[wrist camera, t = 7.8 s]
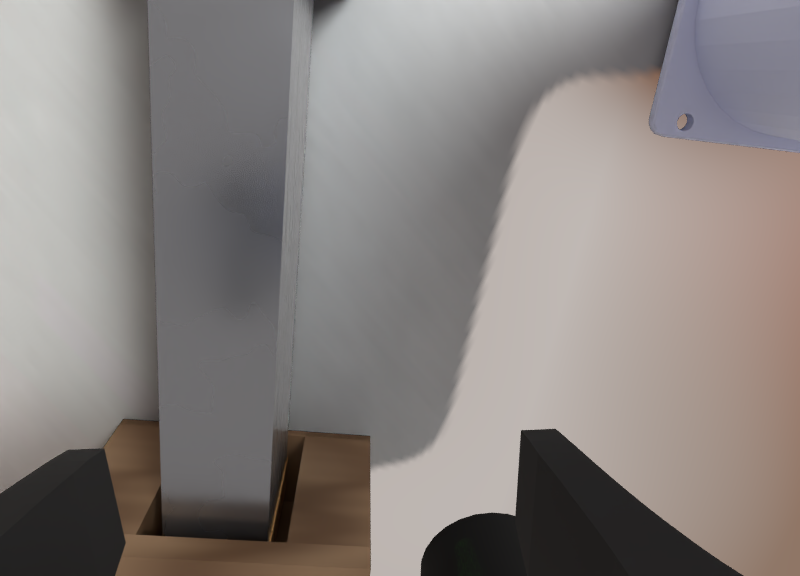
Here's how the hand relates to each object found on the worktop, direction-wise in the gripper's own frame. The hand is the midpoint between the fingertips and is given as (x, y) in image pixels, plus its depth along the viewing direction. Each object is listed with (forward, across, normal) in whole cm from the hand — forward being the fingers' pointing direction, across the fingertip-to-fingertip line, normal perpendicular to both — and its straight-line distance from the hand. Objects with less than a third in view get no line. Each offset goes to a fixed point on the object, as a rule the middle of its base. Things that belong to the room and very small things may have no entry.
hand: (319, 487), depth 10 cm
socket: (+10, +4, +8) cm, 13 cm away
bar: (+10, +3, -1) cm, 11 cm away
